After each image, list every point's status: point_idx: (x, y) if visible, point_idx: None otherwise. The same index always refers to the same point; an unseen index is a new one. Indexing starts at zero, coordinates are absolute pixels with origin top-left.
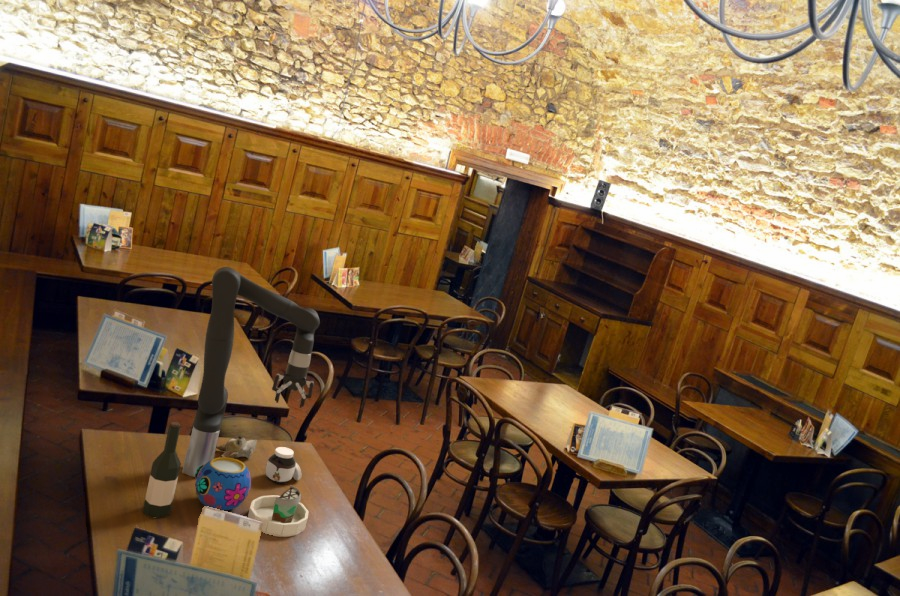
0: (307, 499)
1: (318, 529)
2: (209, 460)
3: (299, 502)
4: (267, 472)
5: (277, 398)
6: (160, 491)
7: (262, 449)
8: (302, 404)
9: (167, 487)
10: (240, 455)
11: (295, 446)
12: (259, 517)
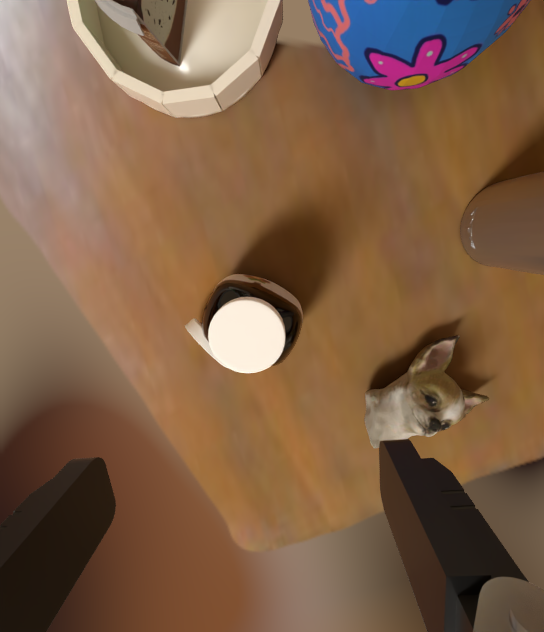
0: (143, 225)
1: (52, 32)
2: (508, 197)
3: (123, 84)
4: (291, 294)
5: (427, 482)
6: None
7: (343, 468)
8: (40, 505)
9: None
10: (397, 379)
11: (263, 527)
12: None
